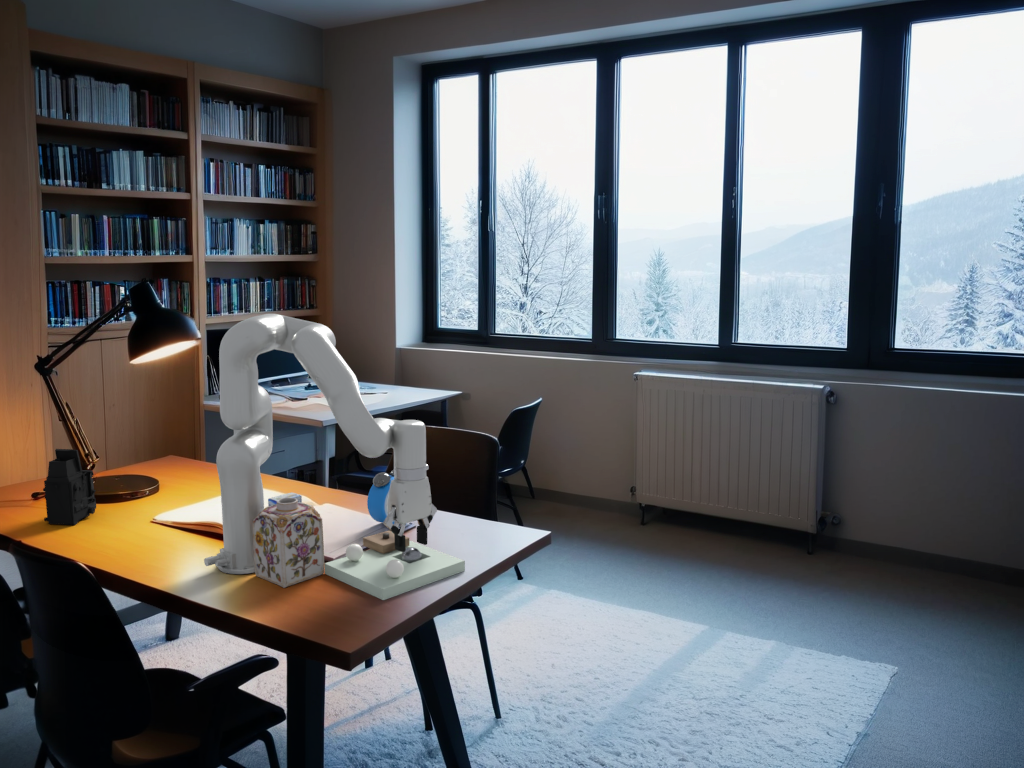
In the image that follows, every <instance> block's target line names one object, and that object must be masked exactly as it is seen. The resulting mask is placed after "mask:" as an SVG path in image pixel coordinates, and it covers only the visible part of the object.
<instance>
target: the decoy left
mask: <svg viewBox="0 0 1024 768" xmlns="http://www.w3.org/2000/svg"><path fill="white" fill-rule="evenodd" d="M363 551H364V550H363V547H362V546H361V545H360V544H358V543H352V544H351V543H350V544H349V545H348V546H347V547H346V549H345V557H347V558H348V559H349V560H351V561H357V560H359V559H360V558H361V557H362V555H363Z"/></svg>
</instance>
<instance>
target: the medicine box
mask: <svg viewBox="0 0 1024 768" xmlns="http://www.w3.org/2000/svg"><path fill="white" fill-rule="evenodd" d="M302 497H303V495H301V494H298V493H296V492H288V493H284V494H283V493H282V494H281V495H276V496H272V497H269V498H268V499H267V507H268V506H272V505H275V504H277V500H279V499H281V498H296V499H297V500H298V503H303V502H302V501H303V498H302Z"/></svg>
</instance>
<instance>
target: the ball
mask: <svg viewBox="0 0 1024 768" xmlns="http://www.w3.org/2000/svg"><path fill="white" fill-rule="evenodd" d="M401 560H402V561H405V562H407V563H413V562H416V561H419V560H422V555H421V552H420V551H419V550H418V549H417V548H414V547H409V548H407V549H406V550H405V552H402V554H401Z"/></svg>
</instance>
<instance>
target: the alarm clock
mask: <svg viewBox="0 0 1024 768" xmlns="http://www.w3.org/2000/svg"><path fill="white" fill-rule="evenodd" d="M391 480H394V469H393V470H391V472H389V473H387V472H384V471H383V472H378V473H377V474H375V476H374V477H373V479H372V483H373V484H372V486H371V487H370V489H369V492H368V495H367V499H366V500H367V503H366V504H367V511H368V514H369V516H370V517H371V518H372V519H373V520H374V521H376V522H379V523H382V524H383V522H384V520H385V519H386V517H387V516H388V498H389V489H390V484H391ZM394 522H395V520H393V521H392V523H393V525H394Z"/></svg>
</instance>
